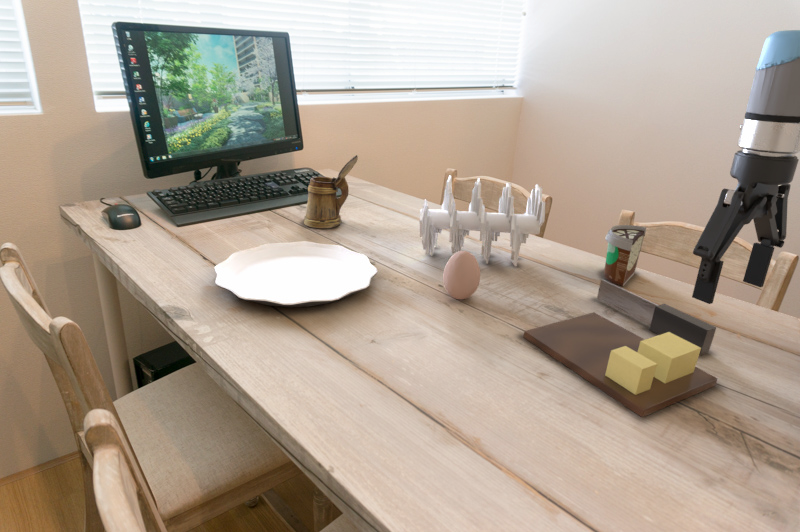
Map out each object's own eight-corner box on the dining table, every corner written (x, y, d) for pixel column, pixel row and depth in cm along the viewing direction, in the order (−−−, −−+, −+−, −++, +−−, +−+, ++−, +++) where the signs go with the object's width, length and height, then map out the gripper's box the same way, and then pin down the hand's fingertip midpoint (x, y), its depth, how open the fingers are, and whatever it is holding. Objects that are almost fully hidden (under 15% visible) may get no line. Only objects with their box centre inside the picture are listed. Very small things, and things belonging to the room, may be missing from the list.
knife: (708, 352, 83) (716, 327, 81) (699, 355, 82) (707, 330, 80) (601, 298, 100) (606, 277, 98) (592, 301, 98) (597, 279, 97)
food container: (607, 263, 117) (616, 220, 113) (636, 271, 114) (647, 226, 110) (590, 280, 108) (599, 233, 104) (621, 288, 105) (632, 240, 101)
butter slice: (650, 389, 70) (657, 363, 69) (635, 395, 69) (642, 369, 68) (619, 370, 74) (625, 345, 73) (604, 375, 73) (610, 350, 72)
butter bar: (693, 372, 75) (701, 347, 74) (665, 383, 72) (672, 358, 70) (662, 355, 79) (669, 331, 78) (633, 365, 76) (640, 341, 74)
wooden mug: (348, 233, 126) (350, 158, 120) (297, 225, 130) (296, 151, 123) (362, 223, 134) (364, 152, 128) (313, 216, 138) (313, 146, 131)
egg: (484, 303, 95) (490, 255, 92) (453, 308, 92) (458, 260, 89) (464, 288, 101) (469, 243, 97) (434, 293, 98) (438, 247, 94)
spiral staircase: (422, 262, 122) (533, 270, 119) (412, 255, 105) (542, 264, 101) (428, 184, 124) (538, 189, 120) (419, 165, 106) (547, 170, 102)
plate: (184, 277, 98) (182, 265, 97) (307, 242, 119) (306, 232, 118) (283, 334, 81) (282, 320, 80) (406, 281, 102) (407, 270, 101)
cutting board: (715, 385, 74) (718, 378, 74) (641, 417, 67) (644, 409, 66) (592, 318, 92) (594, 312, 91) (523, 337, 84) (524, 330, 84)
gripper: (784, 143, 82) (748, 270, 90) (687, 153, 70) (655, 297, 78) (840, 151, 76) (796, 286, 84) (744, 162, 64) (703, 318, 72)
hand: (728, 292), depth 81 cm, fingers open, 13 cm apart
